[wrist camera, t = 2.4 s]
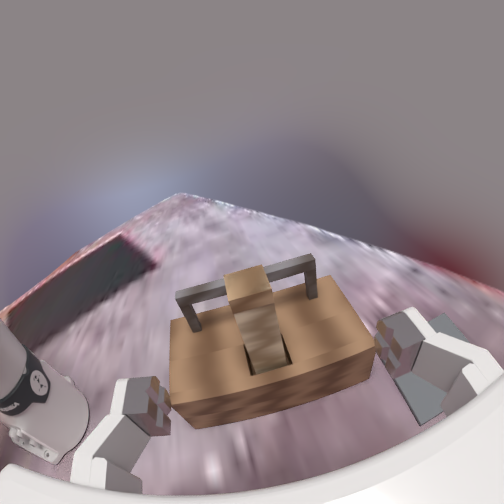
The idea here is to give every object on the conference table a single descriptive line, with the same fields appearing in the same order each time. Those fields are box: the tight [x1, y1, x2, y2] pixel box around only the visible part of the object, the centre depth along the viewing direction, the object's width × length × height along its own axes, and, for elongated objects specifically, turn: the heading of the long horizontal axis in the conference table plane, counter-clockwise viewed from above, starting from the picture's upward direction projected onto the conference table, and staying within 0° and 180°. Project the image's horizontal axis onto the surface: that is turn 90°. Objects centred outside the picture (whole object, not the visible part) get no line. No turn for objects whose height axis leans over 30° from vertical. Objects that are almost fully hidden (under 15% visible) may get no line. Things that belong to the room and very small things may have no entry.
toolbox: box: [169, 253, 376, 429], centre depth 33 cm, size 24×14×14 cm, turn 102°
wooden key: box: [224, 265, 287, 375], centre depth 28 cm, size 4×4×15 cm
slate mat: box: [381, 313, 469, 426], centre depth 29 cm, size 14×14×1 cm
